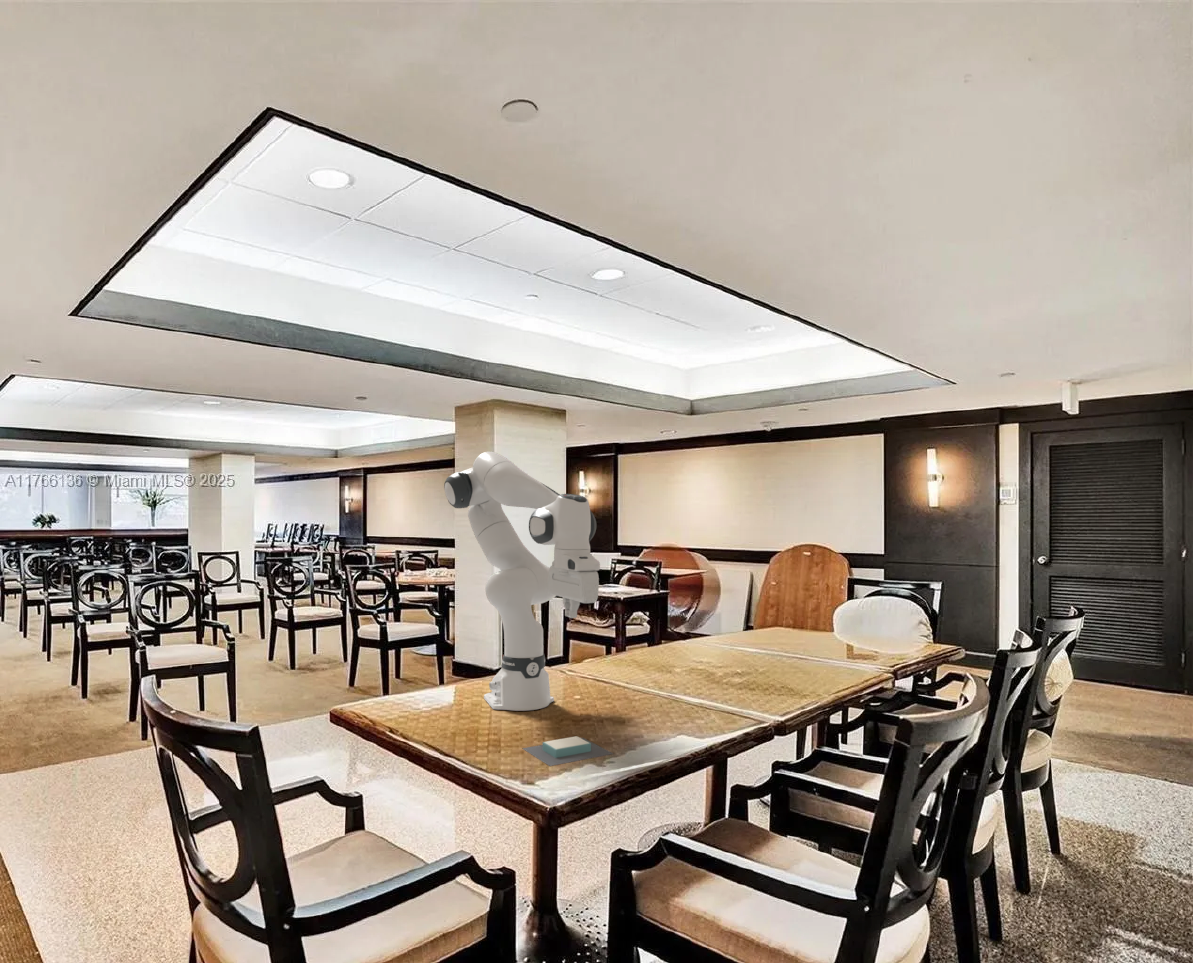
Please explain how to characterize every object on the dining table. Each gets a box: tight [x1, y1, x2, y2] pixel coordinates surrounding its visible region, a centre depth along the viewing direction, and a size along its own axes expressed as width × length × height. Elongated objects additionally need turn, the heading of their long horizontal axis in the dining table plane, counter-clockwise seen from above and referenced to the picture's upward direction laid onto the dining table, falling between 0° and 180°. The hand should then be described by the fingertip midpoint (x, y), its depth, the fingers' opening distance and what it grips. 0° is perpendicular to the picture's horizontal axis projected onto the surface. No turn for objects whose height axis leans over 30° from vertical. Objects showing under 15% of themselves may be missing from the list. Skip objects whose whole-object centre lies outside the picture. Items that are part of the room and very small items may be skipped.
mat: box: [522, 737, 614, 767], centre depth 172 cm, size 14×16×1 cm
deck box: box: [542, 735, 591, 758], centre depth 172 cm, size 2×9×6 cm
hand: (570, 617), depth 185 cm, fingers closed
